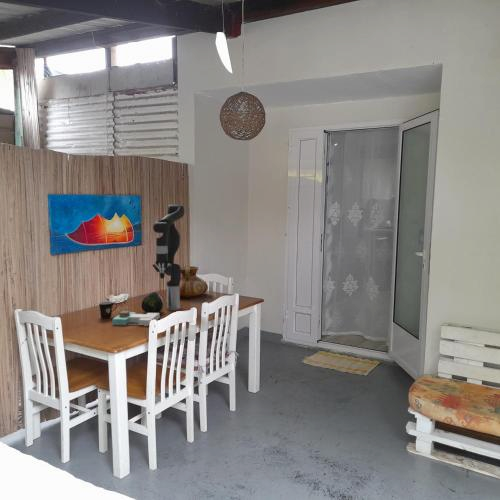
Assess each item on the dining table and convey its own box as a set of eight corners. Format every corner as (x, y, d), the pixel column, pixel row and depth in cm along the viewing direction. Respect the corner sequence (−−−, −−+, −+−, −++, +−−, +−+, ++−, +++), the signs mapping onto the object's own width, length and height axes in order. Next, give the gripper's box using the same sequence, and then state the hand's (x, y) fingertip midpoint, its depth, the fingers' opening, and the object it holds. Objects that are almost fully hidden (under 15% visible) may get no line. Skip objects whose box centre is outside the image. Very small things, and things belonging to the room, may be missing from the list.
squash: (135, 307, 309) (149, 291, 308) (140, 303, 324) (154, 287, 323) (150, 321, 309) (164, 305, 308) (155, 316, 324) (169, 301, 323)
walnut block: (122, 314, 296) (122, 311, 295) (129, 314, 295) (129, 311, 295) (119, 316, 291) (119, 312, 290) (126, 316, 290) (126, 313, 290)
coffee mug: (99, 319, 298) (98, 304, 297) (99, 316, 306) (99, 301, 305) (117, 318, 301) (117, 303, 300) (117, 315, 309) (117, 300, 308)
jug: (166, 294, 378) (165, 264, 375) (199, 290, 392) (199, 262, 389) (178, 301, 352) (177, 269, 349) (213, 297, 366) (213, 267, 363)
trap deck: (123, 317, 303) (123, 311, 303) (159, 318, 301) (159, 312, 300) (112, 324, 286) (112, 318, 285) (151, 326, 283) (150, 319, 283)
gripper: (173, 252, 300) (173, 277, 302) (153, 251, 301) (154, 277, 303) (170, 253, 292) (170, 279, 294) (150, 253, 294) (150, 279, 296)
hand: (162, 278), depth 299 cm, fingers closed
